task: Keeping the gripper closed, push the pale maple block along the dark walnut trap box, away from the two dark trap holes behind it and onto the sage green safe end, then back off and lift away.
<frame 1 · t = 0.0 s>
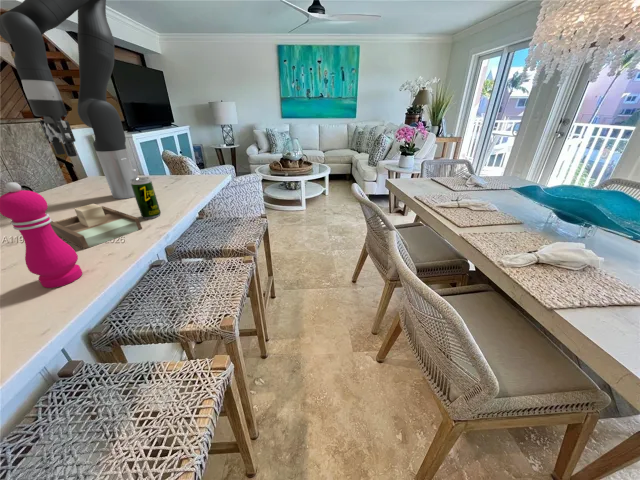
hand: (66, 155, 86), 17 cm above the counter, tool pointing down, fingers open, 8 cm apart
maple block: (94, 222, 73), point 2 cm above the counter, touching trap box
trap box: (97, 230, 75), on the counter
beer can: (152, 216, 84), on the counter
pepper mill: (63, 279, 54), on the counter
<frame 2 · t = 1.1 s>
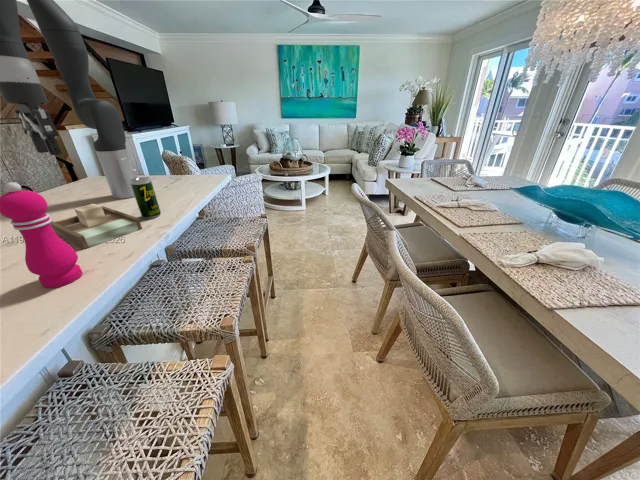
hand: (49, 153, 69), 20 cm above the counter, tool pointing down, fingers open, 8 cm apart
nothing on the counter moved.
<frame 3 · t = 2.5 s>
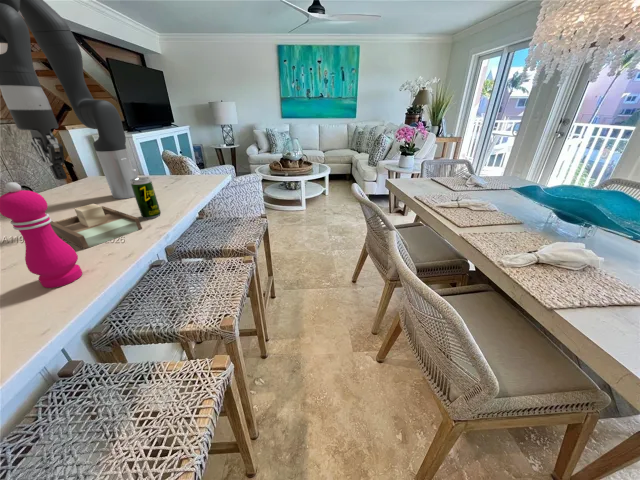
hand: (61, 178, 72), 14 cm above the counter, tool pointing down, fingers closed
nothing on the counter moved.
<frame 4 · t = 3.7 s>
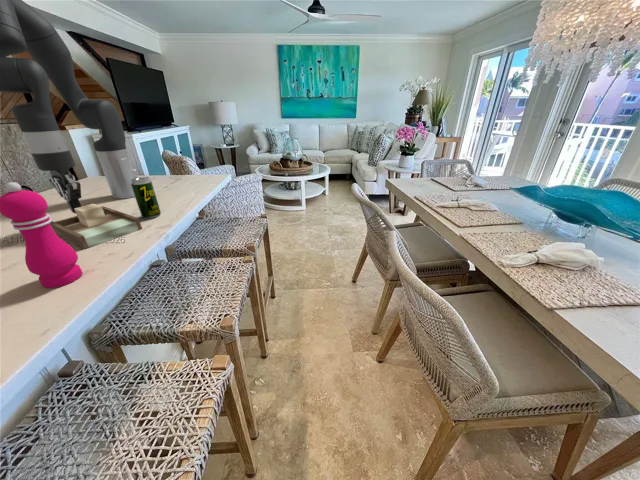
hand: (78, 212, 76), 4 cm above the counter, tool pointing down, fingers closed
nothing on the counter moved.
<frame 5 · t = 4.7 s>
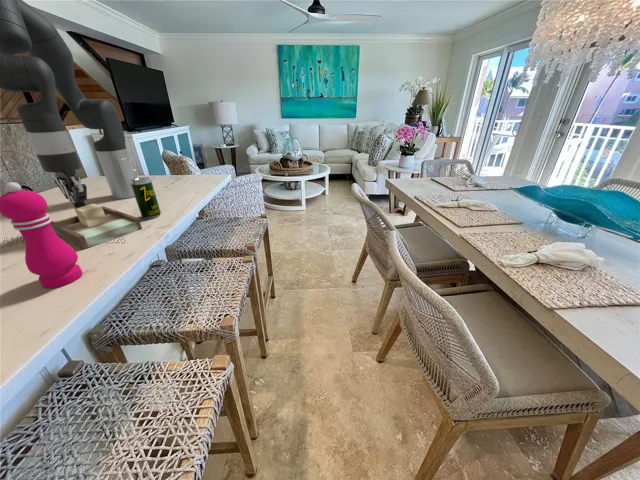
hand: (83, 214, 74), 4 cm above the counter, tool pointing down, fingers closed
maple block: (94, 222, 73), point 3 cm above the counter, touching gripper, trap box
everything else where it was.
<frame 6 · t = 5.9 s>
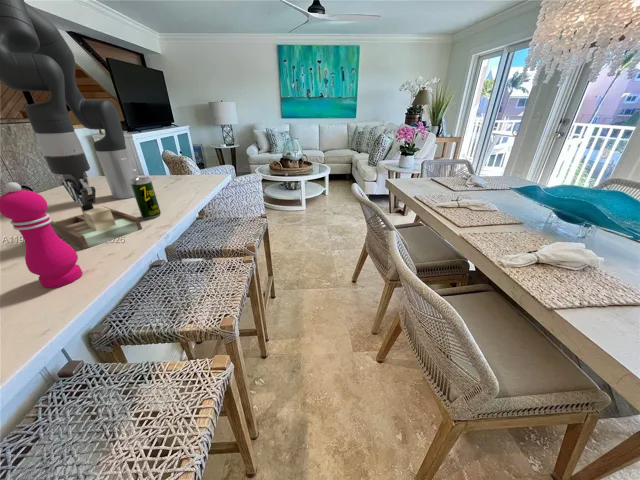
hand: (91, 217, 73), 4 cm above the counter, tool pointing down, fingers closed
maple block: (102, 225, 71), point 2 cm above the counter, touching gripper, trap box
everything else where it was.
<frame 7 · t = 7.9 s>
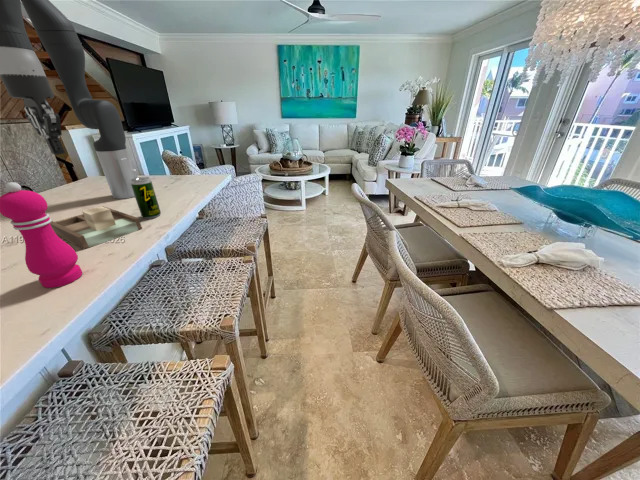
hand: (58, 153, 67), 21 cm above the counter, tool pointing down, fingers closed
maple block: (102, 225, 71), point 2 cm above the counter, touching trap box
everything else where it was.
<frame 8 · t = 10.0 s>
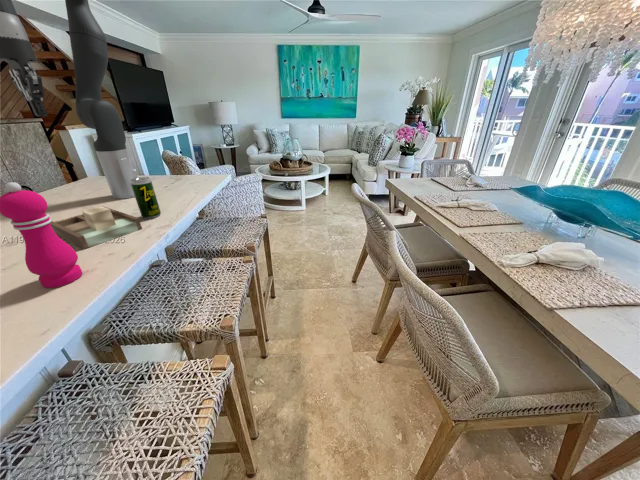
hand: (42, 116, 72), 29 cm above the counter, tool pointing down, fingers closed
nothing on the counter moved.
at the end: maple block 2.0 cm from the target spot, point 2.5 cm above the counter; maple block tilted 0°; the gripper is holding nothing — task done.
